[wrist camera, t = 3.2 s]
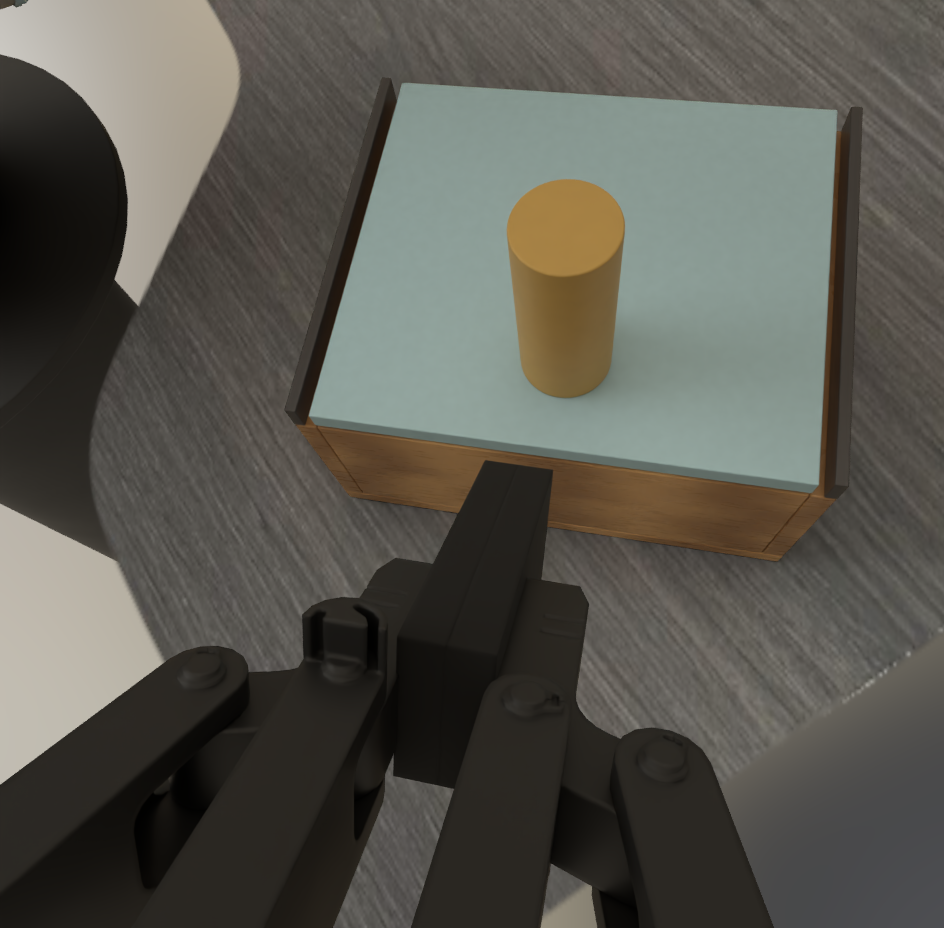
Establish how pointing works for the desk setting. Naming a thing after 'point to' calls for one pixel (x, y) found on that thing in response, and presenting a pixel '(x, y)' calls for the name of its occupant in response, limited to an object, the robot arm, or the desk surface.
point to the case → (581, 483)
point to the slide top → (594, 283)
